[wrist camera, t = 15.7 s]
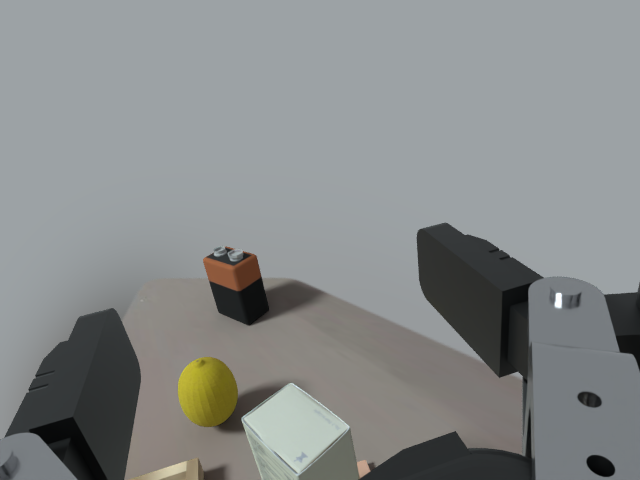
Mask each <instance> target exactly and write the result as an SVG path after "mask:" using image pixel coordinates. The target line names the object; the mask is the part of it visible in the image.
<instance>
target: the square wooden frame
mask: <svg viewBox="0 0 640 480" xmlns="http://www.w3.org/2000/svg"><path fill="white" fill-rule="evenodd" d="M129 480H204V471H203V469H202V466H201V464H200V461H199V459H198V458H195V459H191V460H188V461H185V462H182V463H179V464H176V465H173V466H169V467H166V468H163V469H160V470H157V471H154V472H151V473H148V474H144V475H141V476H138V477H135V478H132V479H129Z"/></svg>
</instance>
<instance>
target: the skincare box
mask: <svg viewBox="0 0 640 480" xmlns="http://www.w3.org/2000/svg"><path fill="white" fill-rule="evenodd" d="M242 423H243V426H244V429H245V432H246V435H247V438H248V441H249V443H250V446H251V449H252V452H253V455H254V458H255V461H256V463H257V466H258V469H259V472H260V475H261V478H262V480H358V479H360V477H359V472H358V467H357V462H356V456H355V451H354V447H353V441H352V436H351V431H350V427H349V426H348V425H347V424H346V423H345V422H344V421H342V420H341V419H340V418H339V417H338V416H336V415H335V414H334V413H332V412H331V411H330V410H328V409H327V408H326V407H325V406H323V405H322V404H321V403H319V402H318V401H317V400H315V399H314V398H312V397H311V396H310V395H308V394H307V393H306V392H304V391H303V390H302V389H300V388H299V387H297V386H296V385H294V384H293V383H289V384H288V385H286V386H285V387H283V388H282V389H281V390H279V391H278V392H276V393H275V394H274V395H272V396H271V397H269V398H268V399H266V400H265V401H264V402H262V403H261V404H259V405H258V406H257V407H255V408H254V409H253V410H251V411H250V412H248V413H247V414H246V415H244V416H243V417H242Z"/></svg>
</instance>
